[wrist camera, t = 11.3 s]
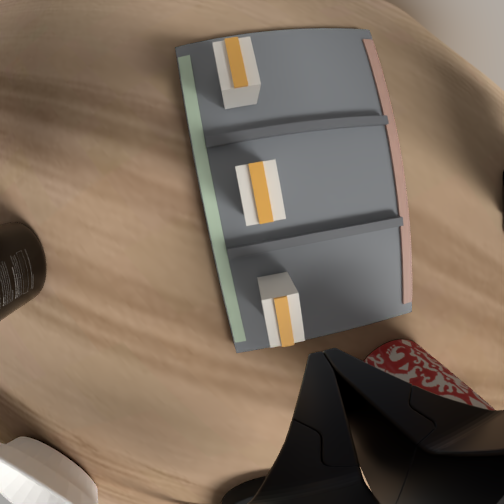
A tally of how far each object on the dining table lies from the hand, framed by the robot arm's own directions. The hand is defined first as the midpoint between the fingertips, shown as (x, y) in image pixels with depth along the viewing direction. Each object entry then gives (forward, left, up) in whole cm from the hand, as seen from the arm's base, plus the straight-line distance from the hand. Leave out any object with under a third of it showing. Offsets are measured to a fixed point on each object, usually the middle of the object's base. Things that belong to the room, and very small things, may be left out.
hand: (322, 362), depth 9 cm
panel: (-3, -5, -12) cm, 14 cm away
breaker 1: (0, -12, -11) cm, 16 cm away
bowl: (+34, +24, -13) cm, 44 cm away
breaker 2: (0, +2, -11) cm, 11 cm away
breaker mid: (0, -5, -11) cm, 12 cm away
